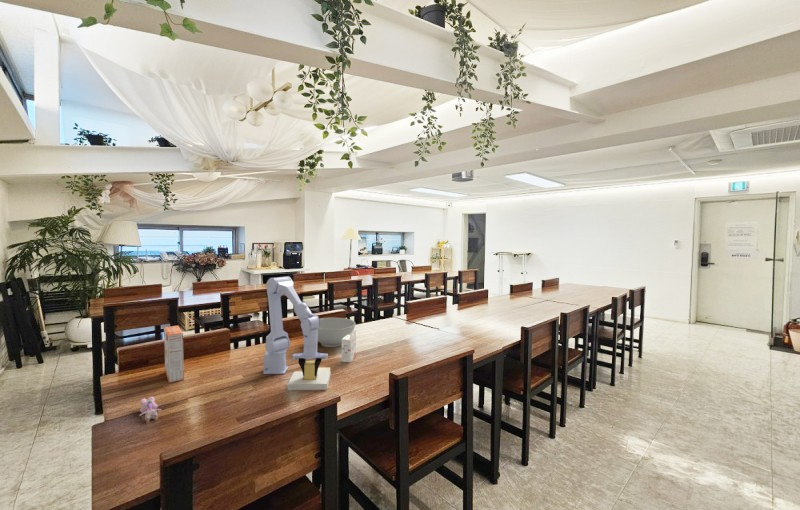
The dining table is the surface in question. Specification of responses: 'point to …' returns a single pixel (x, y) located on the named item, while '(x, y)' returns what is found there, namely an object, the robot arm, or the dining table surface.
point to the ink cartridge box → (349, 347)
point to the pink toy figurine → (149, 409)
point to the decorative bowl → (334, 331)
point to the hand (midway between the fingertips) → (310, 375)
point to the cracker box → (173, 353)
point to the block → (309, 370)
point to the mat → (324, 369)
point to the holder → (309, 381)
